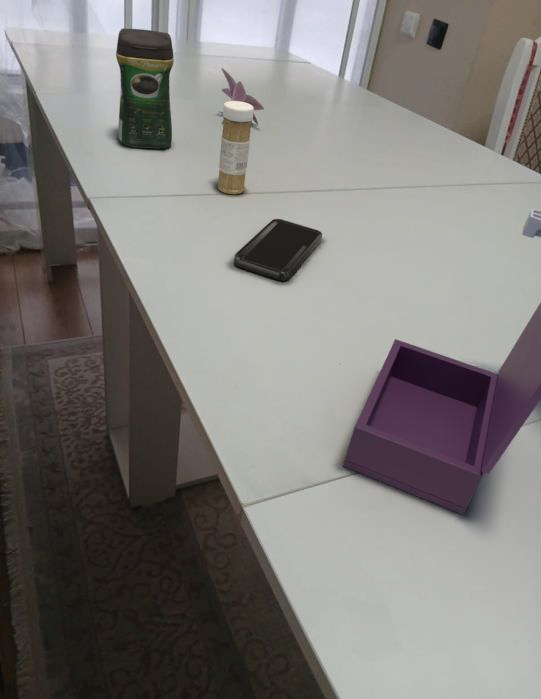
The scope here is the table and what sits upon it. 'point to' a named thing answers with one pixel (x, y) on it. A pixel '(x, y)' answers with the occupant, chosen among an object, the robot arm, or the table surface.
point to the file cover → (515, 392)
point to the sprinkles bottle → (234, 146)
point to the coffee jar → (145, 88)
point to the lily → (240, 94)
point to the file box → (425, 426)
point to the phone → (278, 249)
